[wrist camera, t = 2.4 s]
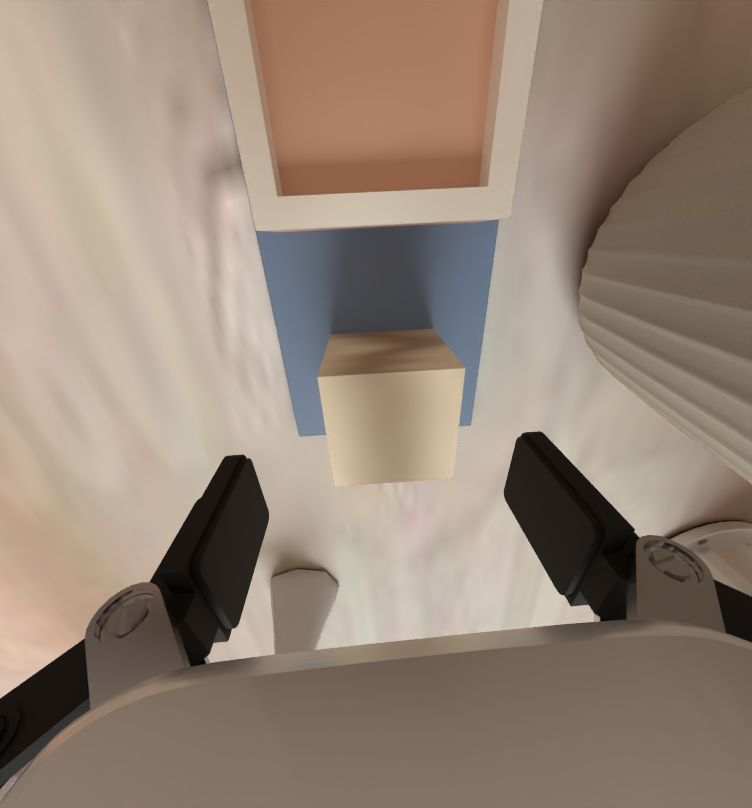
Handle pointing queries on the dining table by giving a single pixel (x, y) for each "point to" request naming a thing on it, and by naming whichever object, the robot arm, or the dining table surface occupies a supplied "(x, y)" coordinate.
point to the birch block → (390, 406)
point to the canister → (683, 284)
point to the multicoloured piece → (377, 164)
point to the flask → (300, 608)
